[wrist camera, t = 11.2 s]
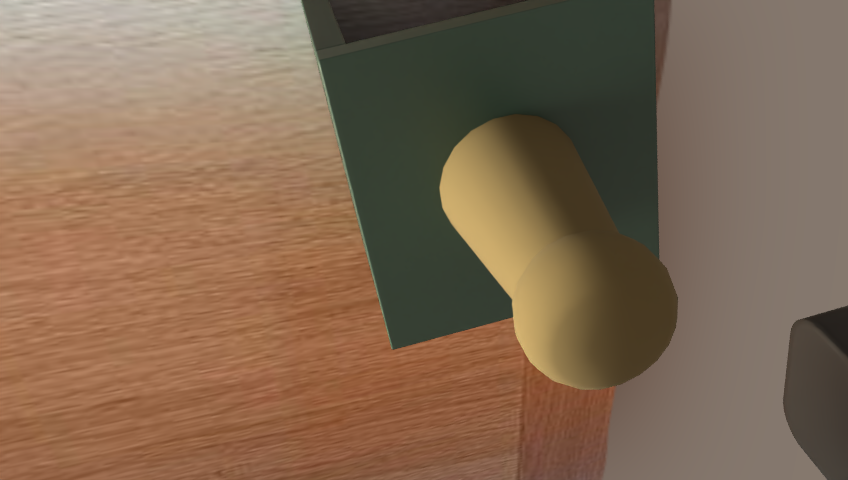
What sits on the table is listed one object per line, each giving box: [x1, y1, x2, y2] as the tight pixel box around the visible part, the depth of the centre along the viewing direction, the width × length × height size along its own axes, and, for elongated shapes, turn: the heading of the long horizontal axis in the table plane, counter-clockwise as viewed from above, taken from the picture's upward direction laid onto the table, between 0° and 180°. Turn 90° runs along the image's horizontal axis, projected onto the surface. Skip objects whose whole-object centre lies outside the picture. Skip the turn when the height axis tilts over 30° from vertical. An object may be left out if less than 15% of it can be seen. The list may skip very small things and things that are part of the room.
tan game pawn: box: [439, 114, 678, 390], centre depth 29 cm, size 6×6×11 cm
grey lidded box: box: [301, 0, 659, 350], centre depth 37 cm, size 14×13×9 cm
